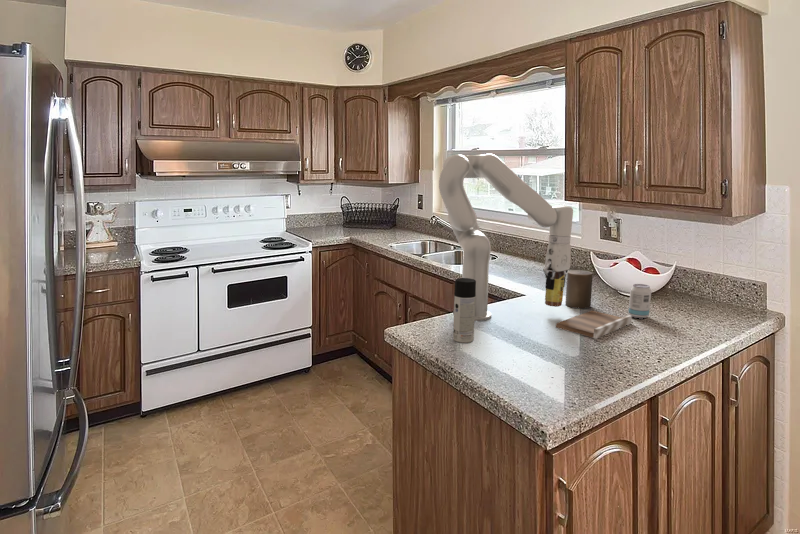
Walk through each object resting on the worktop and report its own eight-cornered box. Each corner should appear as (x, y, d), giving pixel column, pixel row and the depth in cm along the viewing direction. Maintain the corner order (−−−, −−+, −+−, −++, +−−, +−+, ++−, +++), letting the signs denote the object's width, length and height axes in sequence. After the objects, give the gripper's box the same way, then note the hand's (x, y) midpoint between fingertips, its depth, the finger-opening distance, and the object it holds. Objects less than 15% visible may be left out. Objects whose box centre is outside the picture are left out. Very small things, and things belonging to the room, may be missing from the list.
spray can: (459, 335, 166) (460, 276, 162) (477, 339, 162) (479, 279, 158) (449, 340, 160) (450, 280, 156) (468, 345, 157) (470, 283, 153)
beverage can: (647, 315, 188) (650, 284, 185) (649, 320, 181) (653, 288, 179) (627, 313, 190) (630, 282, 187) (629, 318, 183) (632, 287, 181)
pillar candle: (594, 308, 196) (597, 271, 193) (569, 308, 196) (571, 271, 193) (585, 302, 205) (588, 266, 203) (561, 302, 206) (564, 266, 203)
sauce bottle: (562, 308, 183) (568, 254, 179) (545, 306, 184) (550, 253, 180) (560, 303, 189) (565, 251, 185) (543, 301, 190) (548, 250, 186)
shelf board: (596, 338, 162) (596, 329, 162) (555, 327, 174) (556, 319, 173) (630, 323, 178) (631, 315, 177) (591, 314, 189) (592, 306, 188)
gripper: (555, 243, 173) (550, 293, 177) (581, 239, 184) (576, 286, 188) (536, 240, 179) (532, 289, 182) (563, 237, 190) (559, 283, 193)
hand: (554, 287), depth 185 cm, fingers closed on sauce bottle, 6 cm apart
